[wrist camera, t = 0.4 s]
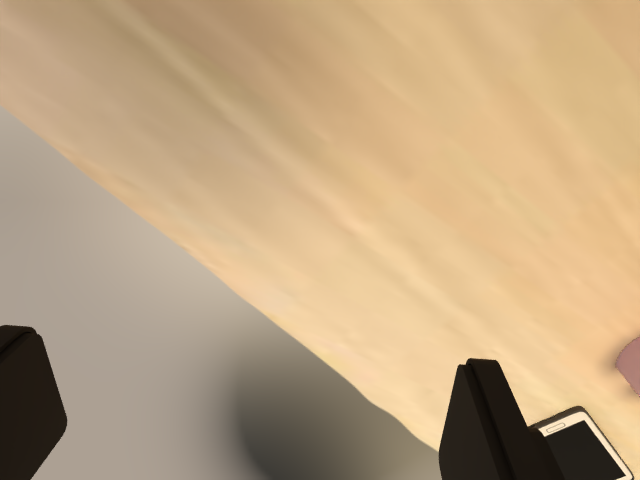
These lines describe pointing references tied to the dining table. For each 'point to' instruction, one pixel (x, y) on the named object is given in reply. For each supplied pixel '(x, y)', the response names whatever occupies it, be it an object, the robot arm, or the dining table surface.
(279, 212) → the dining table surface
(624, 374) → the clip
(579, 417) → the cell phone
